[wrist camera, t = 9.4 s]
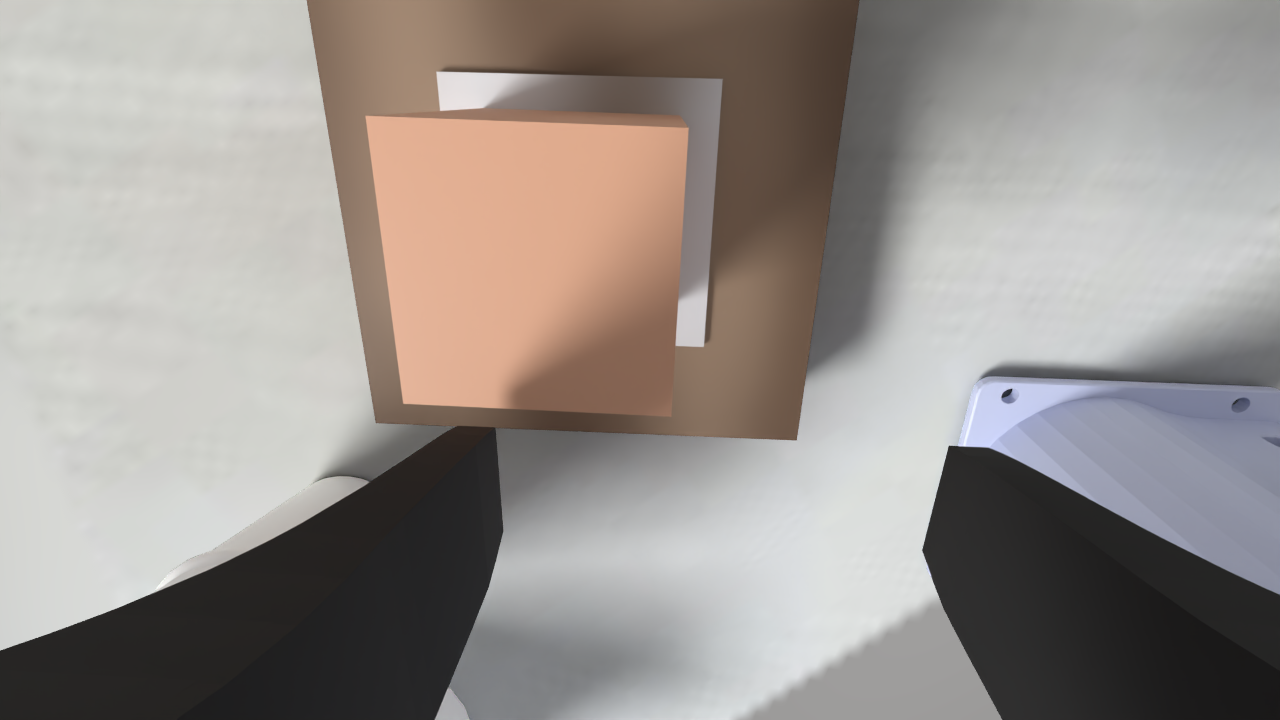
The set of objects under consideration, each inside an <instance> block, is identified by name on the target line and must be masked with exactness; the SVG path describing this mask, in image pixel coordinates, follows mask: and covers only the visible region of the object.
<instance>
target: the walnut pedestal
mask: <svg viewBox="0 0 1280 720" xmlns="http://www.w3.org/2000/svg"><path fill="white" fill-rule="evenodd" d="M307 5H308V11H309V17H310V23H311V29H312V35H313V41H314V48H315V54H316V60H317V66H318V72H319V78H320V84H321V90H322V96H323V103H324V109H325V115H326V121H327V127H328V133H329V139H330V145H331V152H332V158H333V164H334V170H335V176H336V182H337V188H338V194H339V201H340V207H341V213H342V219H343V225H344V231H345V237H346V243H347V249H348V256H349V262H350V268H351V274H352V280H353V286H354V292H355V298H356V305H357V311H358V317H359V323H360V329H361V335H362V341H363V347H364V353H365V360H366V366H367V372H368V378H369V384H370V390H371V396H372V402H373V409H374V415H375V421H376V423H388V424H413V425H437V426H479V427H495V428H510V429H534V430H558V431H582V432H607V433H631V434H655V435H680V436H704V437H728V438H752V439H777V440H797V434H798V427H799V420H800V413H801V406H802V399H803V392H804V385H805V378H806V371H807V364H808V357H809V350H810V343H811V336H812V329H813V322H814V315H815V308H816V301H817V294H818V287H819V280H820V273H821V266H822V259H823V252H824V245H825V238H826V231H827V224H828V217H829V210H830V203H831V196H832V189H833V182H834V175H835V168H836V161H837V154H838V147H839V140H840V133H841V126H842V119H843V112H844V105H845V98H846V91H847V84H848V77H849V70H850V63H851V56H852V49H853V42H854V34H855V27H856V20H857V13H858V6H859V0H307ZM476 108H495V109H522V110H549V111H576V112H603V113H630V114H657V115H680V116H681V117H682V119H683V120H684V122H685V123H686V125H687V126H688V128H689V131H688V148H687V164H686V181H685V197H684V214H683V230H682V247H681V264H680V280H679V297H678V313H677V330H676V347H675V363H674V380H673V396H672V413H671V417H667V416H647V415H626V414H605V413H585V412H564V411H544V410H523V409H502V408H482V407H461V406H440V405H420V404H403V398H402V390H401V383H400V375H399V367H398V360H397V352H396V345H395V337H394V329H393V322H392V314H391V307H390V299H389V291H388V284H387V276H386V269H385V261H384V253H383V246H382V238H381V231H380V223H379V215H378V208H377V200H376V193H375V185H374V177H373V170H372V162H371V155H370V147H369V139H368V132H367V124H366V117H365V116H370V115H385V114H401V113H416V112H431V111H446V110H461V109H476Z"/></svg>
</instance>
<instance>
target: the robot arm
mask: <svg viewBox="0 0 1280 720" xmlns="http://www.w3.org/2000/svg"><path fill="white" fill-rule="evenodd" d="M1007 389H1012V392H1011V394H1010V395H1009V396H1007V397H1005V398H1001V396H1002V394H1003V392H1004V391H1006V390H1007ZM1237 399H1239V400H1238V401H1237V403H1236V404H1234V405H1232V404H1233V403H1234V401H1236V400H1237ZM502 534H503V521H502V508H501V495H500V482H499V469H498V456H497V443H496V430H495V427H479V426H456V427H455V428H453V429H451V430H449V431H447V432H446V433H444V434H442V435H441V436H439V437H438V438H436V439H435V440H433V441H432V442H430V443H429V444H427V445H426V446H424V447H423V448H421V449H420V450H418V451H417V452H415V453H414V454H412V455H411V456H409V457H408V458H406V459H405V460H403V461H401V462H400V463H398V464H397V465H395V466H394V467H392V468H391V469H389V470H388V471H386V472H385V473H383V474H382V475H380V476H378V477H377V478H375V479H374V480H372V481H371V482H369V483H368V484H366V485H365V486H363V487H361V488H360V489H358V490H356V491H355V492H353V493H351V494H350V495H348V496H346V497H345V498H343V499H341V500H340V501H338V502H336V503H334V504H333V505H331V506H329V507H328V508H326V509H324V510H323V511H321V512H319V513H318V514H316V515H314V516H313V517H311V518H309V519H308V520H306V521H304V522H302V523H301V524H299V525H297V526H295V527H293V528H291V529H290V530H288V531H286V532H284V533H282V534H280V535H278V536H276V537H275V538H273V539H271V540H269V541H267V542H265V543H263V544H261V545H259V546H257V547H255V548H253V549H251V550H249V551H247V552H245V553H243V554H241V555H238V556H236V557H234V558H232V559H230V560H228V561H226V562H224V563H222V564H220V565H218V566H216V567H213V568H211V569H209V570H207V571H205V572H202V573H200V574H197V575H195V576H193V577H190V578H188V579H186V580H183V581H181V582H178V583H176V584H174V585H171V586H169V587H167V588H164V589H162V590H160V591H157V592H155V593H152V594H150V595H148V596H145V597H143V598H141V599H138V600H136V601H134V602H131V603H129V604H126V605H124V606H122V607H119V608H117V609H114V610H112V611H109V612H106V613H104V614H101V615H98V616H96V617H93V618H90V619H88V620H85V621H82V622H80V623H77V624H74V625H72V626H69V627H66V628H64V629H61V630H58V631H56V632H53V633H50V634H47V635H44V636H41V637H38V638H35V639H33V640H30V641H27V642H24V643H21V644H18V645H15V646H12V647H9V648H7V649H4V650H1V651H0V720H435V718H436V716H437V713H438V711H439V708H440V706H441V703H442V701H443V699H444V696H445V694H446V691H447V689H448V686H449V684H450V681H451V679H452V677H453V674H454V672H455V669H456V667H457V664H458V662H459V659H460V657H461V655H462V652H463V650H464V647H465V645H466V642H467V640H468V637H469V635H470V633H471V630H472V628H473V625H474V623H475V620H476V618H477V615H478V613H479V610H480V608H481V605H482V603H483V600H484V598H485V595H486V592H487V590H488V587H489V584H490V580H491V577H492V573H493V569H494V566H495V562H496V558H497V554H498V550H499V546H500V542H501V538H502ZM922 551H923V553H924V556H925V559H926V562H927V570H928V572H929V574H930V576H931V577H932V580H933V582H934V585H935V588H936V590H937V593H938V595H939V598H940V600H941V603H942V606H943V608H944V610H945V612H946V614H947V616H948V618H949V620H950V622H951V624H952V626H953V627H954V630H955V632H956V634H957V635H958V637H959V639H960V641H961V643H962V645H963V647H964V649H965V651H966V653H967V654H968V657H969V658H970V660H971V662H972V664H973V666H974V668H975V669H976V671H977V673H978V675H979V677H980V679H981V681H982V683H983V684H984V686H985V688H986V690H987V692H988V694H989V696H990V698H991V699H992V701H993V703H994V705H995V707H996V709H997V711H998V712H999V714H1000V716H1001V718H1002V720H1280V390H1279V389H1277V388H1273V387H1260V386H1234V385H1208V384H1182V383H1155V382H1129V381H1103V380H1076V379H1050V378H1024V377H998V376H991V377H985V378H983V379H981V380H979V381H978V382H977V383H976V384H975V386H974V388H973V390H972V393H971V397H970V401H969V405H968V409H967V413H966V416H965V420H964V424H963V428H962V432H961V435H960V439H959V443H958V446H949V448H948V452H947V455H946V459H945V463H944V467H943V471H942V475H941V479H940V483H939V487H938V491H937V495H936V499H935V502H934V506H933V510H932V514H931V518H930V522H929V526H928V530H927V534H926V538H925V542H924V546H923V549H922Z"/></svg>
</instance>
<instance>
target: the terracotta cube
mask: <svg viewBox="0 0 1280 720" xmlns="http://www.w3.org/2000/svg"><path fill="white" fill-rule="evenodd" d="M365 117H366V124H367V132H368V139H369V147H370V155H371V162H372V170H373V177H374V185H375V193H376V200H377V208H378V215H379V223H380V231H381V238H382V246H383V253H384V261H385V269H386V276H387V284H388V291H389V299H390V307H391V314H392V322H393V329H394V337H395V345H396V352H397V360H398V367H399V375H400V383H401V390H402V398H403V404H420V405H440V406H461V407H482V408H502V409H523V410H544V411H564V412H585V413H605V414H626V415H647V416H667V417H671V413H672V396H673V380H674V363H675V347H676V330H677V313H678V297H679V280H680V264H681V247H682V230H683V214H684V197H685V181H686V164H687V148H688V131H689V128H688V126H687V125H686V123H685V122H684V120H683V119H682V117H681V116H680V115H657V114H630V113H603V112H576V111H549V110H522V109H495V108H476V109H461V110H446V111H431V112H416V113H401V114H385V115H370V116H365Z"/></svg>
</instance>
